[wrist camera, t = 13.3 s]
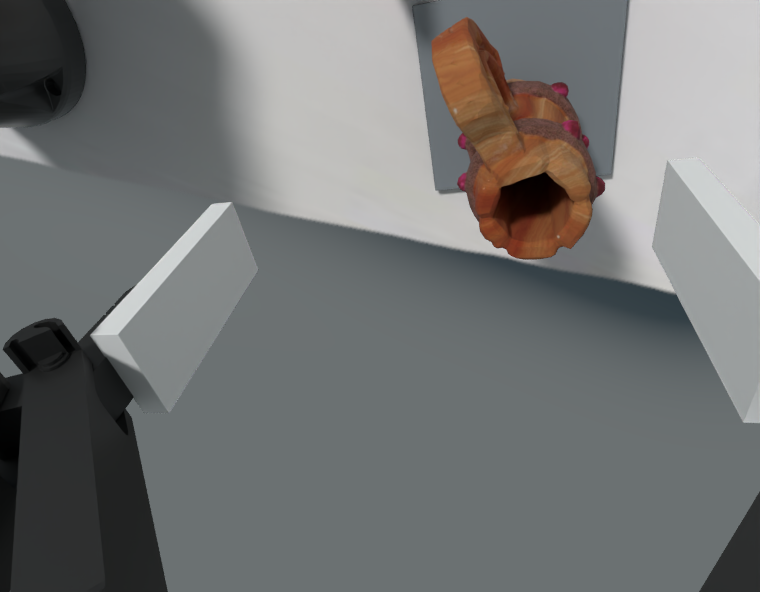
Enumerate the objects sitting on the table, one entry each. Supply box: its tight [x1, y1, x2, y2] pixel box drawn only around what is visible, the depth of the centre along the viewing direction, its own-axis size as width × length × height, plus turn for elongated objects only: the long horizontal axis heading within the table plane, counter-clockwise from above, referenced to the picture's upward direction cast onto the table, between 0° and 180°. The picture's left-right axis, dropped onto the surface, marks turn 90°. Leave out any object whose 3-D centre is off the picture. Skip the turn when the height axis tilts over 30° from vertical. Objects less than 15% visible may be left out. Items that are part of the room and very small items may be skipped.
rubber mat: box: [412, 0, 627, 190], centre depth 37 cm, size 14×14×1 cm
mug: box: [431, 17, 605, 259], centre depth 31 cm, size 15×8×15 cm, turn 33°
